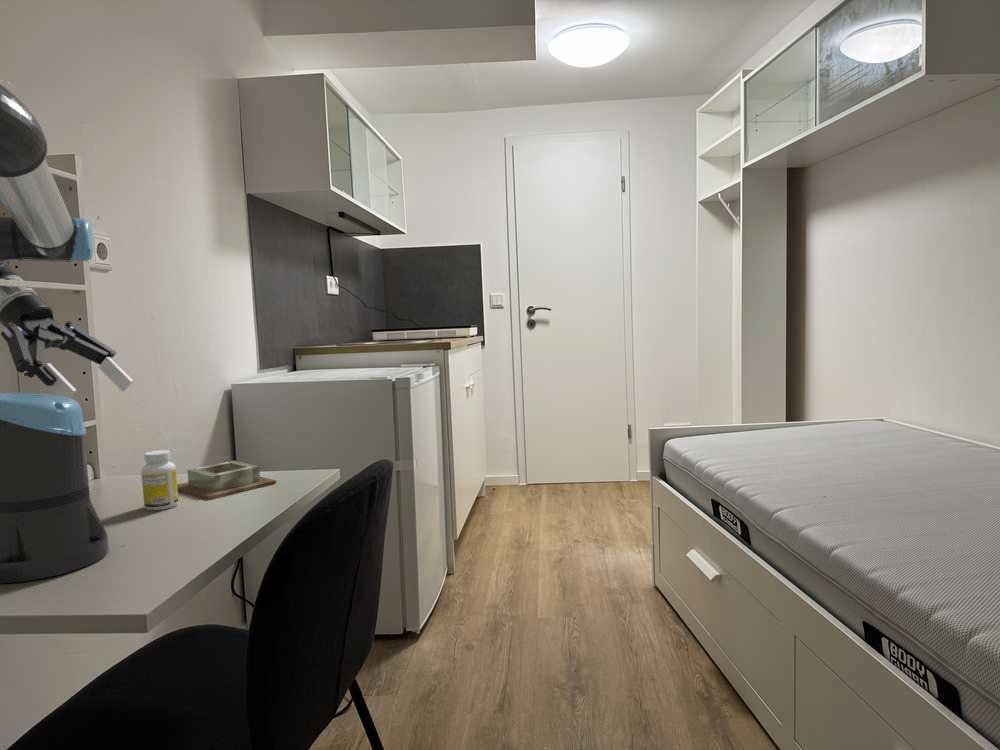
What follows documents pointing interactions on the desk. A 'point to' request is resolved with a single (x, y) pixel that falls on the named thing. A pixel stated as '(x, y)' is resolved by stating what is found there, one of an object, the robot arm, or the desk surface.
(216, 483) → the socket board
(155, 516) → the desk surface
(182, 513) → the desk surface
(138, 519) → the desk surface
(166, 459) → the supplement bottle
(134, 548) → the desk surface
